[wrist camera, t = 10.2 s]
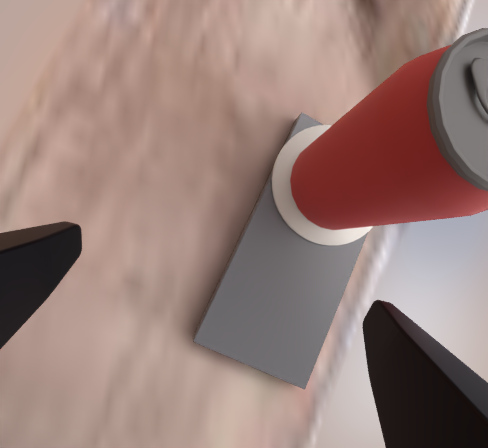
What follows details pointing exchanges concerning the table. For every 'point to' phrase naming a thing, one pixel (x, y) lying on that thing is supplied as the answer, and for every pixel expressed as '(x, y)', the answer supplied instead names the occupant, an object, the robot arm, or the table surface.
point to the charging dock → (281, 278)
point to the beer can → (405, 146)
